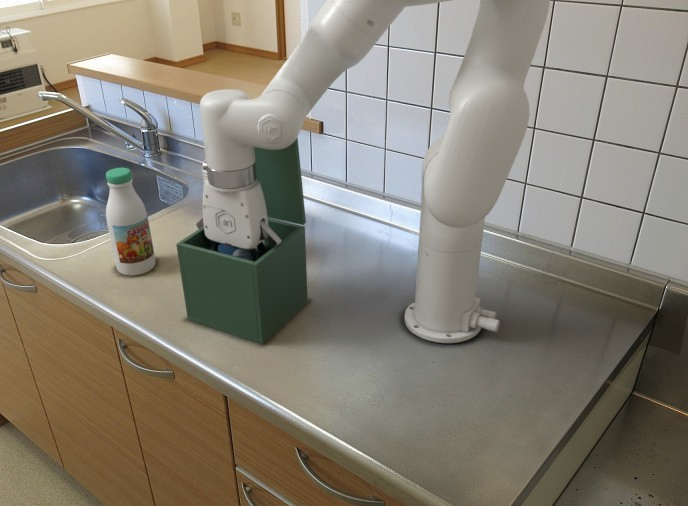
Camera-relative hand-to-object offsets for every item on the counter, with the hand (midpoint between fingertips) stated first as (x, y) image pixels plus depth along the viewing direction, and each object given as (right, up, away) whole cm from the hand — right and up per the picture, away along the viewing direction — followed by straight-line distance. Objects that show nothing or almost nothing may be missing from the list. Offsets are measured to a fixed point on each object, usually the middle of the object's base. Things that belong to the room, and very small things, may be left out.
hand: (241, 273), depth 112 cm
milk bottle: (-22, +2, +21) cm, 30 cm away
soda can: (0, -4, +3) cm, 5 cm away
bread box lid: (+3, +16, -3) cm, 16 cm away
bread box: (+1, -6, +5) cm, 8 cm away
